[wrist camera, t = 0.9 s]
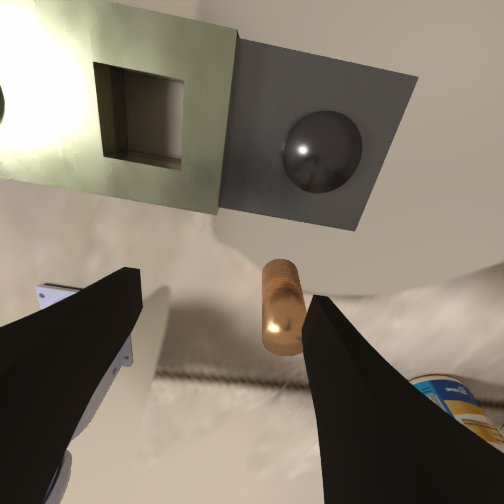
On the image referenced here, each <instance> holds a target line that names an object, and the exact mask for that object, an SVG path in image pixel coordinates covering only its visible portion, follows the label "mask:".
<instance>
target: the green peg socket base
mask: <svg viewBox="0 0 504 504" xmlns="http://www.w3.org/2000/svg"><path fill="white" fill-rule="evenodd" d="M123 71H127V72H132V73H137V74H142V75H147V76H151V77H156V78H161V79H166V80H171V81H176V82H181V83H184V100H183V130H182V159H181V160H179V159H173V158H168V157H163V156H157V155H152V154H147V153H141V152H136V151H130V150H128V141H127V125H126V110H125V94H124V78H123ZM417 80H418V77H416V76H412V75H407V74H403V73H397V72H393V71H388V70H384V69H379V68H375V67H370V66H365V65H361V64H356V63H352V62H347V61H342V60H338V59H332V58H328V57H324V56H319V55H314V54H310V53H305V52H301V51H296V50H291V49H287V48H282V47H277V46H272V45H268V44H264V43H259V42H254V41H249V40H245V39H240V38H239V34H238V30H236V29H232V28H228V27H223V26H219V25H213V24H209V23H205V22H200V21H196V20H191V19H187V18H182V17H177V16H173V15H168V14H164V13H159V12H154V11H150V10H145V9H141V8H136V7H131V6H127V5H122V4H118V3H113V2H108V1H104V0H0V177H2V178H8V179H13V180H19V181H25V182H30V183H36V184H42V185H47V186H53V187H59V188H64V189H70V190H76V191H82V192H87V193H93V194H99V195H104V196H110V197H116V198H121V199H127V200H133V201H138V202H144V203H150V204H155V205H161V206H167V207H173V208H178V209H184V210H190V211H195V212H201V213H207V214H212V215H217V213H218V211H219V209H220V207H221V208H226V209H232V210H238V211H243V212H249V213H255V214H260V215H266V216H271V217H277V218H283V219H288V220H294V221H299V222H305V223H311V224H316V225H322V226H328V227H334V228H339V229H345V230H350V231H355V230H356V228H357V225H358V223H359V220H360V218H361V215H362V213H363V211H364V208H365V206H366V203H367V201H368V199H369V196H370V194H371V191H372V189H373V187H374V184H375V182H376V179H377V177H378V174H379V172H380V170H381V167H382V165H383V162H384V160H385V158H386V155H387V153H388V150H389V148H390V145H391V143H392V141H393V138H394V136H395V133H396V131H397V128H398V126H399V124H400V121H401V119H402V116H403V114H404V111H405V109H406V107H407V104H408V102H409V99H410V97H411V95H412V92H413V90H414V87H415V85H416V82H417Z"/></svg>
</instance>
